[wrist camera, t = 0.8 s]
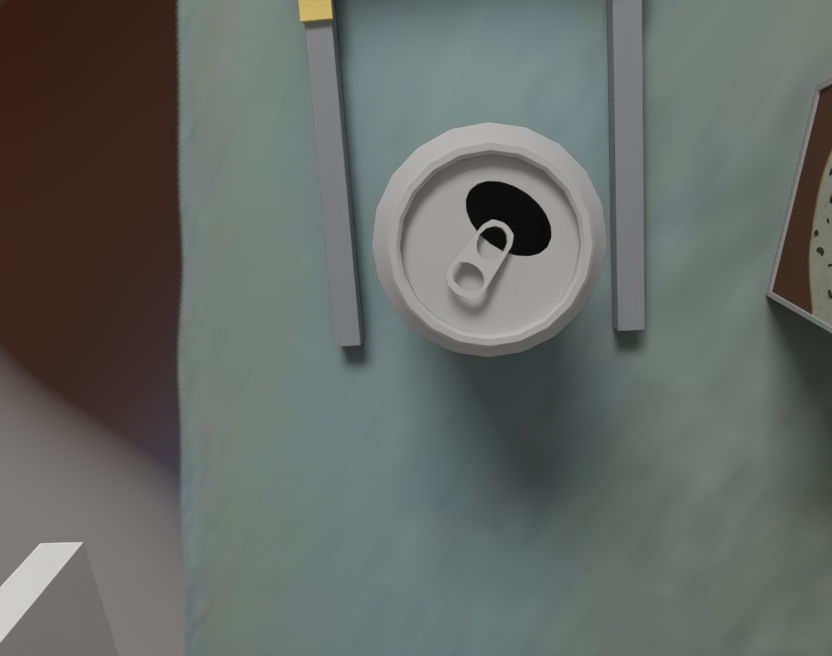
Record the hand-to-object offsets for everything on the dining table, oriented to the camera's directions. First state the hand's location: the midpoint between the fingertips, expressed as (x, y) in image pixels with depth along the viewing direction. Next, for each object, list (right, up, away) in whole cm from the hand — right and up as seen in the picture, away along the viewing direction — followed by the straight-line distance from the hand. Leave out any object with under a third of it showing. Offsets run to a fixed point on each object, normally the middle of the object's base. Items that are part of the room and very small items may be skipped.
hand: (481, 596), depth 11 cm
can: (+2, +9, +21) cm, 23 cm away
